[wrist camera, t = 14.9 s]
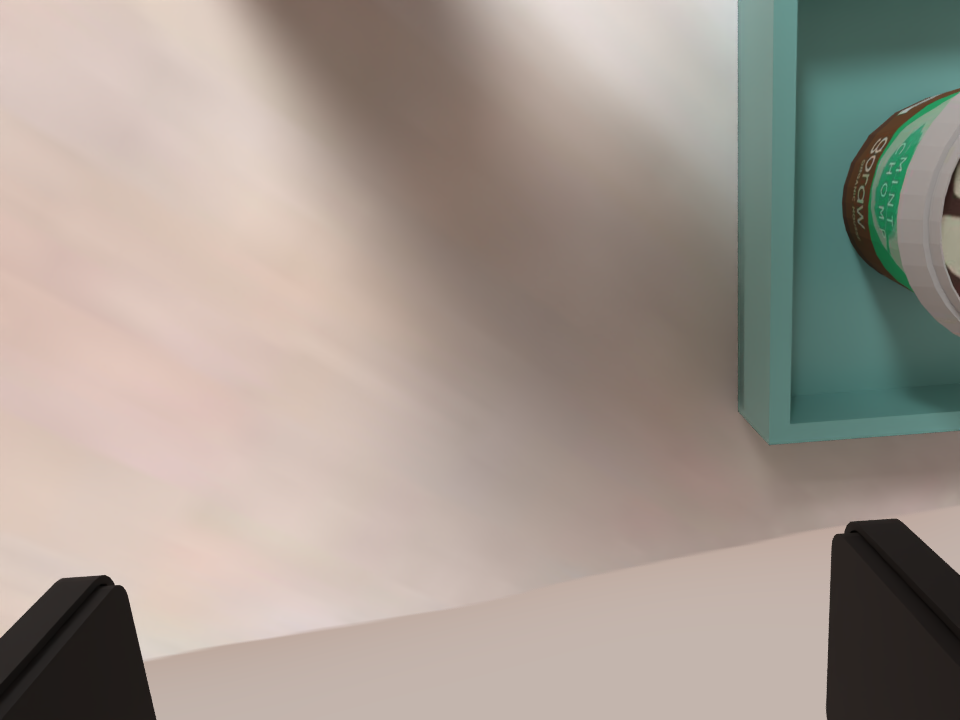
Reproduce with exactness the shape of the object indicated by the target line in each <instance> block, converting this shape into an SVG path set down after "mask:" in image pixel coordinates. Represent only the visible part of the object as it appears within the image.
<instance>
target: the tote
mask: <svg viewBox="0 0 960 720" xmlns="http://www.w3.org/2000/svg"><path fill="white" fill-rule="evenodd" d="M959 88H960V0H738V412H739V413H740V414H741V415H742V416H743V417H744V418H745V419H746V420H747V422H748V423H749V424H750V425H751V426H752V427H753V428H754V429H755V430H756V431H757V432H758V433H759V435H760V436H761V437H762V438H763V439H764V440H765V441H766V442H767V443H768V444H769V445H775V444H788V443H801V442H815V441H828V440H841V439H854V438H868V437H881V436H894V435H908V434H921V433H934V432H947V431H960V337H959V336H957V335H955V334H953V333H952V332H950V331H949V330H948V329H947V328H945V327H944V326H943V325H941V324H940V323H939V322H937V321H936V320H935V319H934V318H933V316H932V315H931V314H930V313H929V312H928V311H927V310H926V309H925V308H924V306H923V305H922V304H921V302H920V301H919V299H918V298H917V296H916V294H915V293H914V292H912V291H910V290H908V289H907V288H905V287H903V286H901V285H899V284H898V283H896V282H894V281H892V280H891V279H889V278H887V277H885V276H883V275H882V274H880V273H878V272H877V271H876V270H874V269H873V268H872V267H870V266H869V265H868V264H867V263H866V262H865V261H864V260H863V259H862V258H861V257H860V256H859V255H858V253H857V251H856V250H855V248H854V247H853V245H852V244H851V242H850V239H849V237H848V234H847V232H846V229H845V225H844V220H843V214H842V196H843V188H844V184H845V180H846V177H847V174H848V171H849V168H850V165H851V162H852V161H853V159H854V158H855V156H856V154H857V153H858V151H859V150H860V148H861V147H862V145H863V144H864V142H865V141H866V139H867V137H868V136H869V135H870V134H871V133H872V132H873V131H874V130H876V129H877V128H878V127H879V126H880V125H881V124H882V123H884V122H885V121H886V120H887V119H888V118H889V117H890V116H892V115H893V114H894V113H895V112H898V111H900V110H902V109H904V108H906V107H908V106H910V105H912V104H915V103H917V102H919V101H921V100H923V99H925V98H928V97H932V96H935V95H939V94H942V93H945V92H949V91H952V90H955V89H959Z"/></svg>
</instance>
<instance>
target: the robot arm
mask: <svg viewBox="0 0 960 720" xmlns="http://www.w3.org/2000/svg"><path fill="white" fill-rule="evenodd" d="M826 713H827V720H960V575H959V574H958V573H957V572H955V570H953V569H952V568H951V567H950V566H949V565H948V564H947V563H945V561H944V560H943V559H942V558H940V557H939V556H938V555H937V554H936V553H935V552H934V551H932V549H931V548H930V547H929V546H927V545H926V544H925V543H924V542H923V541H922V540H921V539H920V538H919V537H918V536H917V535H915V534H914V533H913V532H912V531H911V530H910V529H909V528H908V527H907V526H906V525H905V524H904V523H902V522H901V521H900V520H898V519H882V520H868V521H854V522H850V523H849V524H848V525H847V526H846V529H845V533H844V534H836V535H835V536H834V538H833V540H832V551H831V581H830V612H829V639H828V669H827V699H826ZM0 720H156V716H155V712H154V708H153V703H152V699H151V694H150V690H149V686H148V681H147V677H146V673H145V668H144V664H143V660H142V655H141V651H140V647H139V642H138V638H137V634H136V629H135V625H134V621H133V616H132V612H131V608H130V603H129V599H128V595H127V592H126V590H125V589H124V587H122V586H121V585H115V584H114V582H113V581H112V580H111V578H110V577H108V576H106V575H101V576H87V577H73V578H62V579H60V580H58V581H57V582H56V583H55V584H54V585H53V586H52V587H51V588H50V589H49V590H48V591H47V592H46V593H45V594H44V595H43V596H42V597H41V598H40V599H39V600H38V601H37V602H36V603H35V604H34V605H33V606H32V607H31V608H30V609H29V610H28V611H27V612H26V613H25V614H24V615H23V616H22V617H21V618H20V619H19V620H18V621H17V622H16V623H15V624H14V625H13V626H12V627H11V628H10V629H9V630H8V631H7V632H6V633H5V634H4V635H3V636H2V637H1V638H0Z"/></svg>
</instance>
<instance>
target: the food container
mask: <svg viewBox="0 0 960 720" xmlns="http://www.w3.org/2000/svg"><path fill="white" fill-rule="evenodd" d="M842 214H843V220H844V225H845V229H846V232H847V234H848V237H849V239H850V242H851V244H852V245H853V247H854V248H855V250H856V251H857V253H858V255H859V256H860V257H861V258H862V259H863V260H864V261H865V262H866V263H867V264H868V265H869V266H870V267H872V268H873V269H874V270H876V271H877V272H878V273H880V274H882V275H883V276H885V277H887V278H889V279H891V280H892V281H894V282H896V283H898V284H899V285H901V286H903V287H905V288H907V289H908V290H910V291H912V292H914V293H915V294H916V296H917V298H918V299H919V301H920V302H921V304H922V305H923V306H924V308H925V309H926V310H927V311H928V312H929V313H930V314H931V315H932V316H933V318H934V319H935V320H936V321H937V322H939V323H940V324H941V325H943V326H944V327H945V328H947V329H948V330H949V331H950V332H952V333H953V334H955V335H957V336H959V337H960V88H959V89H955V90H952V91H949V92H945V93H942V94H939V95H935V96H932V97H928V98H925V99H923V100H921V101H919V102H917V103H915V104H912V105H910V106H908V107H906V108H904V109H902V110H900V111H898V112H895V113H894V114H893V115H892V116H890V117H889V118H888V119H887V120H886V121H885V122H884V123H882V124H881V125H880V126H879V127H878V128H877V129H876V130H874V131H873V132H872V133H871V134H870V135H869V136H868V137H867V139H866V141H865V142H864V144H863V145H862V147H861V148H860V150H859V151H858V153H857V154H856V156H855V158H854V159H853V161H852V162H851V165H850V168H849V171H848V174H847V177H846V180H845V184H844V188H843V196H842Z"/></svg>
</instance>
